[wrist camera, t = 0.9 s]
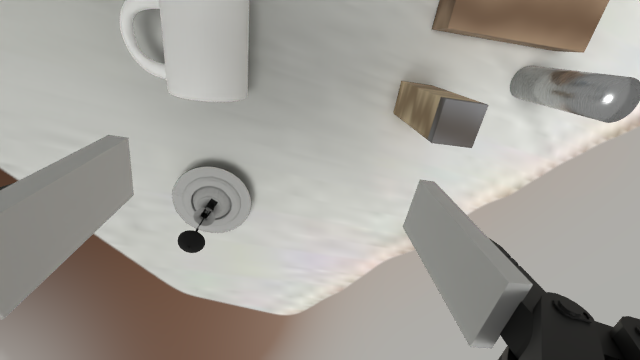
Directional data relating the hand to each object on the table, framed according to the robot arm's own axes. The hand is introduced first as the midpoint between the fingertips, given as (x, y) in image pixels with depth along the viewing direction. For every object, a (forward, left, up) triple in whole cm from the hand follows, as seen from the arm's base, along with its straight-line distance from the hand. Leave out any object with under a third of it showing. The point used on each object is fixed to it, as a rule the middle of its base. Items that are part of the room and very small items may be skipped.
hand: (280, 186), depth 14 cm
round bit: (-5, +29, -25) cm, 39 cm away
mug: (-4, -11, -25) cm, 28 cm away
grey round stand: (+15, -9, -25) cm, 30 cm away
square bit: (-1, +15, -25) cm, 29 cm away
